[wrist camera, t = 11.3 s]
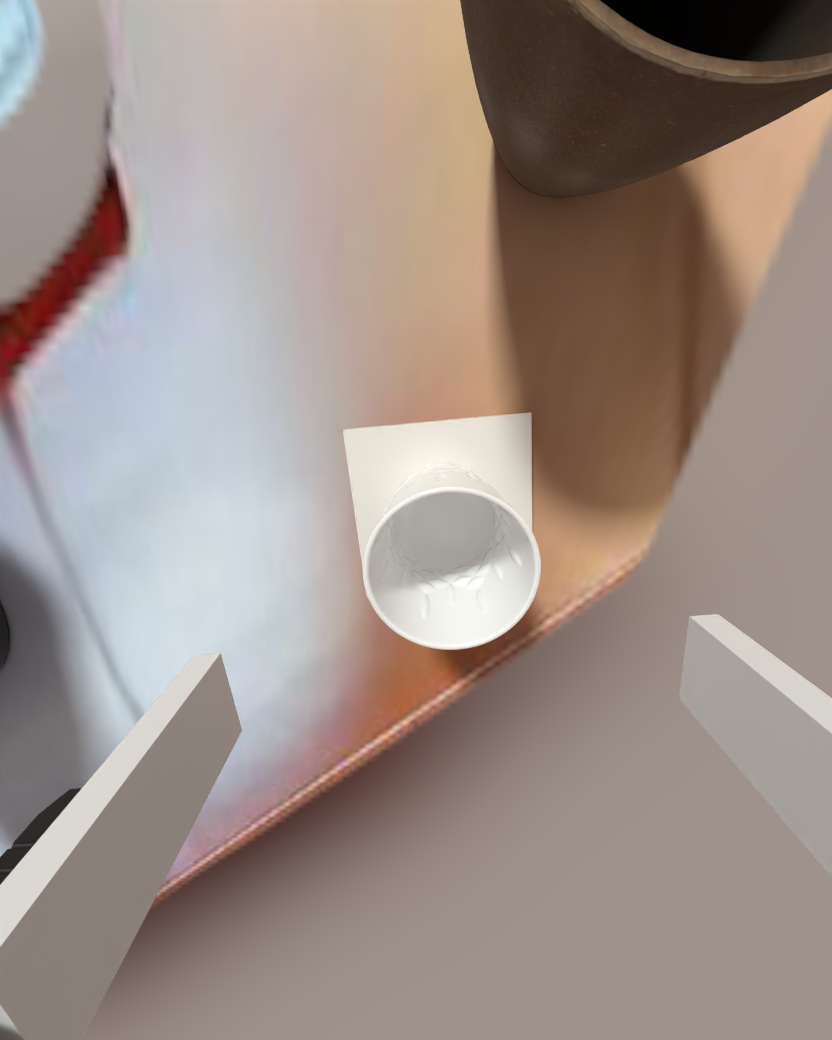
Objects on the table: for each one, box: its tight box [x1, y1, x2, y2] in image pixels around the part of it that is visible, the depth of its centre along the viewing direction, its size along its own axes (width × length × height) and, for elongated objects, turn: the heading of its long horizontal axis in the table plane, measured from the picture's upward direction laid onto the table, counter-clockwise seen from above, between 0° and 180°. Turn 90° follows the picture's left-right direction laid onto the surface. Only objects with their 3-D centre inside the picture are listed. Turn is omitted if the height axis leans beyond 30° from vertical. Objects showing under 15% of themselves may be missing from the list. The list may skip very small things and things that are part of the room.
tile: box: [343, 412, 532, 597], centre depth 28 cm, size 12×12×1 cm
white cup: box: [363, 462, 541, 650], centre depth 23 cm, size 8×8×10 cm
